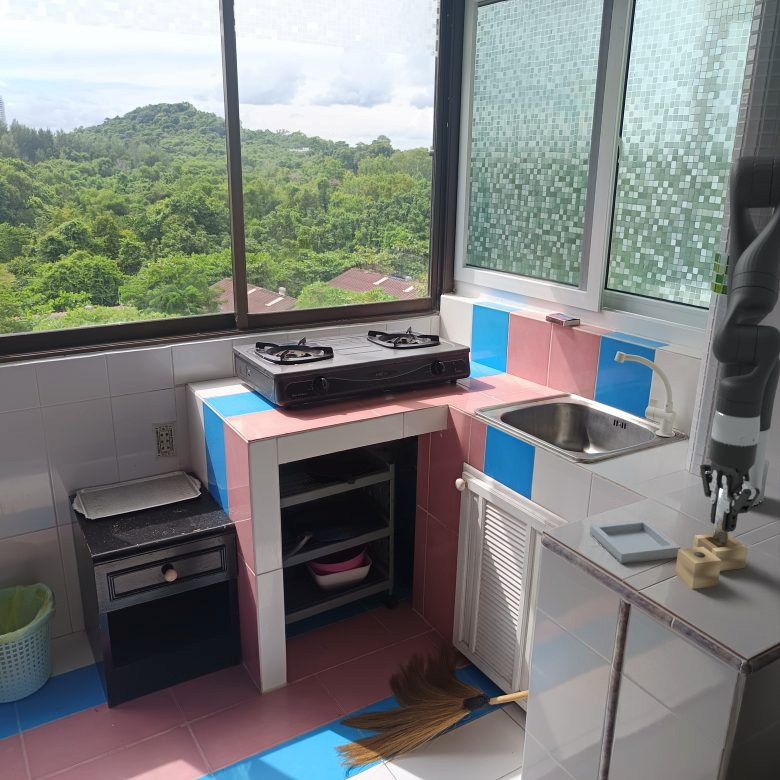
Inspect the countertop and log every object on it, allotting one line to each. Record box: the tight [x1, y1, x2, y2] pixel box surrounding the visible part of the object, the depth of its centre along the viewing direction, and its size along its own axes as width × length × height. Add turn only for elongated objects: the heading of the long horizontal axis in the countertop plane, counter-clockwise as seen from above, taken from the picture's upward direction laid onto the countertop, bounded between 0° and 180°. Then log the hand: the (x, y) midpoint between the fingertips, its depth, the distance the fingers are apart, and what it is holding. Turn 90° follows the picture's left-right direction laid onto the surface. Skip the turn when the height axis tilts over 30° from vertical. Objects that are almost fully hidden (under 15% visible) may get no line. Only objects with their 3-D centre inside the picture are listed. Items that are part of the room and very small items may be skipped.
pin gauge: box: [712, 487, 735, 543], centre depth 134 cm, size 3×3×10 cm
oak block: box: [692, 532, 749, 572], centre depth 136 cm, size 6×6×4 cm
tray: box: [589, 519, 682, 565], centre depth 142 cm, size 12×12×2 cm
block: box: [674, 547, 721, 590], centre depth 129 cm, size 5×5×5 cm
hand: (722, 526), depth 134 cm, fingers closed on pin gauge, 2 cm apart
